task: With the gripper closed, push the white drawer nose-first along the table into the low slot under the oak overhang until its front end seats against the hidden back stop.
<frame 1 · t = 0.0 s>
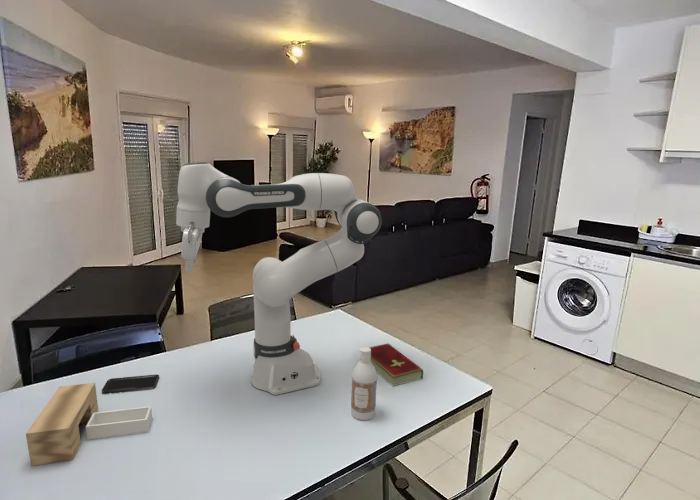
hand: (190, 266, 121), 39 cm above the table, tool pointing down, fingers open, 8 cm apart
phone: (131, 386, 131), on the table
hardcover book: (390, 369, 146), on the table
white drawer: (121, 429, 111), on the table
bath foam: (363, 414, 120), on the table
overhang dock: (68, 435, 107), on the table
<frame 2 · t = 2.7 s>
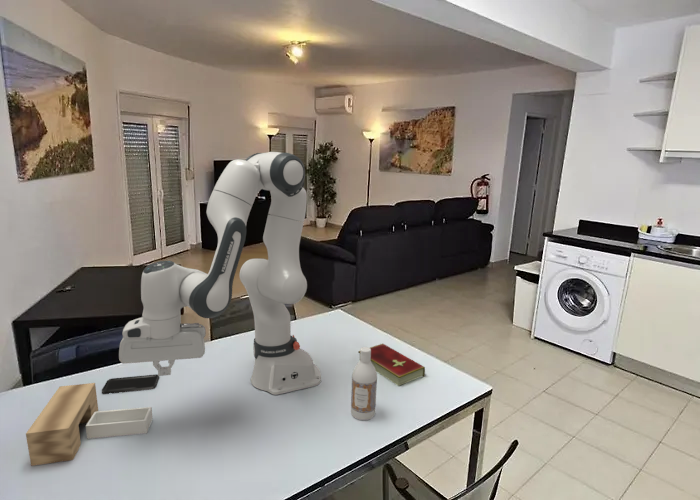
hand: (164, 374, 110), 14 cm above the table, tool pointing down, fingers closed
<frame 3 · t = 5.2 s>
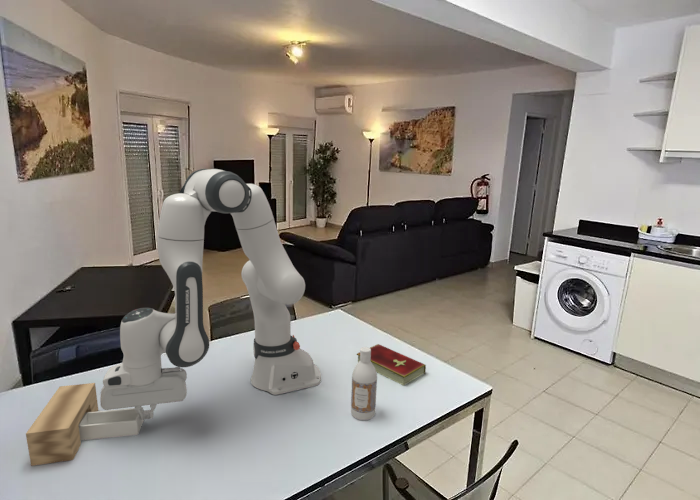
hand: (147, 417, 112), 2 cm above the table, tool pointing down, fingers closed
white drawer: (112, 430, 110), on the table, touching gripper
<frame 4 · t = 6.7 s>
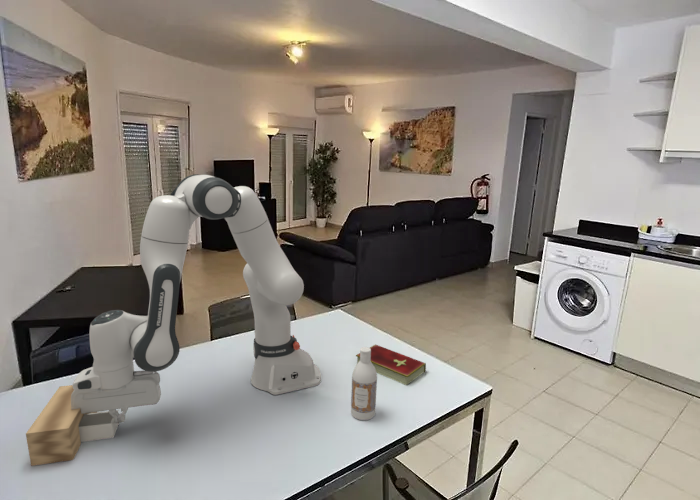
hand: (120, 421, 110), 2 cm above the table, tool pointing down, fingers closed
white drawer: (86, 434, 108), on the table, touching gripper, overhang dock
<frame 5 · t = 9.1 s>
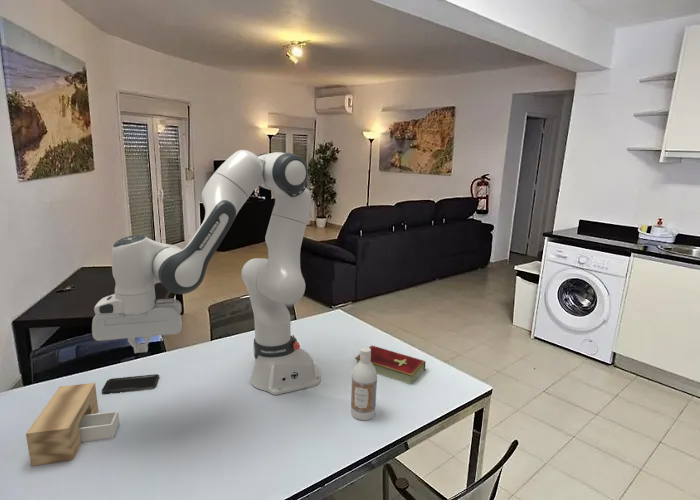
hand: (141, 351, 108), 21 cm above the table, tool pointing down, fingers closed
white drawer: (86, 435, 108), on the table
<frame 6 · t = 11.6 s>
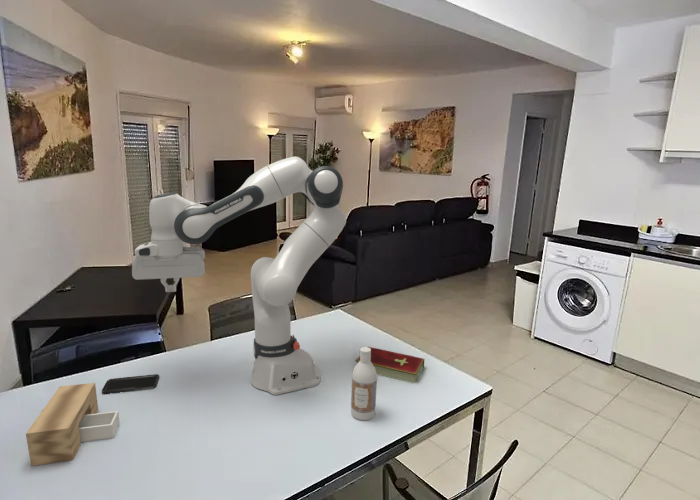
hand: (171, 291, 129), 29 cm above the table, tool pointing down, fingers closed
at the end: white drawer 0.5 cm from the target spot, on the table; white drawer tilted 0° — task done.
